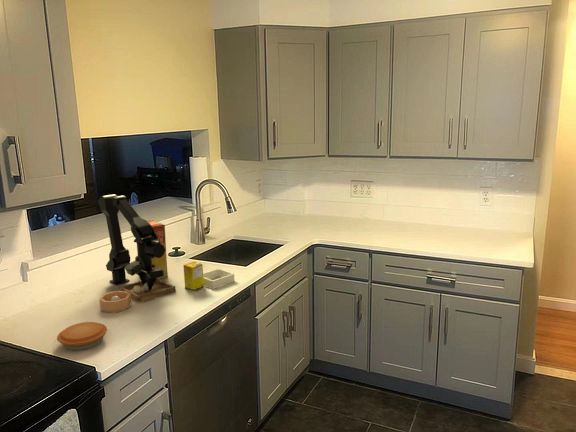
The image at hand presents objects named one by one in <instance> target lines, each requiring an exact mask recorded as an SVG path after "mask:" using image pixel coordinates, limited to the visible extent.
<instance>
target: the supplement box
mask: <svg viewBox="0 0 576 432" xmlns="http://www.w3.org/2000/svg"><path fill="white" fill-rule="evenodd" d="M203 268H204V267H203V263H200V262H197V261H191V262H188V263H185V264H183V277H184V290H185V289H186V290H188V291H191V292H196V291H198V290H202V289H203V288H205V286H204V281H203V273H204V269H203Z"/></svg>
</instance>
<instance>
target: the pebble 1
mask: <svg viewBox="0 0 576 432" xmlns="http://www.w3.org/2000/svg"><path fill="white" fill-rule="evenodd" d="M117 300H120V297H118V296H113V297H112V298H111V301H117Z"/></svg>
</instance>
